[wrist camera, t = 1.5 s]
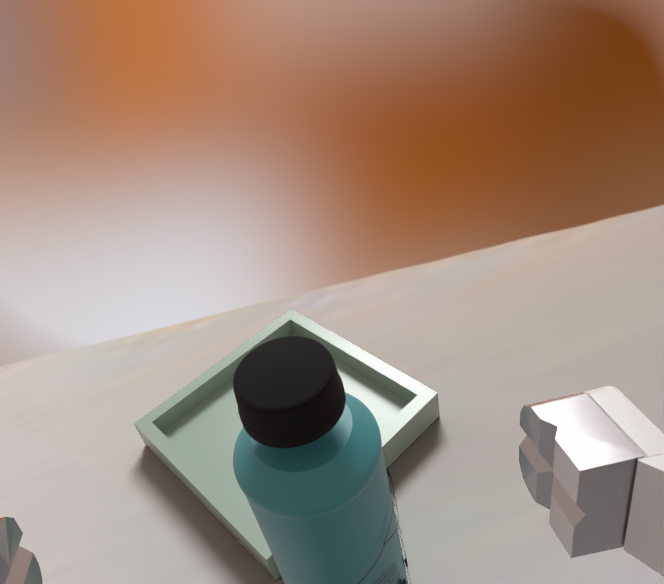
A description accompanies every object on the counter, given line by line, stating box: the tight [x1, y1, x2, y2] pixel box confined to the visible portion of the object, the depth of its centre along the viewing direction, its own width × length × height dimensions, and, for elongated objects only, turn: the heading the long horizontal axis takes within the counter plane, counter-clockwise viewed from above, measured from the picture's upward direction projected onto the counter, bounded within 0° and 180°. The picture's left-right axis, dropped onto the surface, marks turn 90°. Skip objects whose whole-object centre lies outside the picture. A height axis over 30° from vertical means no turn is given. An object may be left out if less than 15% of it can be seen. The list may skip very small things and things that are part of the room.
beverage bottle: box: [233, 336, 411, 584], centre depth 28 cm, size 6×7×20 cm
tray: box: [134, 309, 439, 580], centre depth 44 cm, size 16×16×2 cm
